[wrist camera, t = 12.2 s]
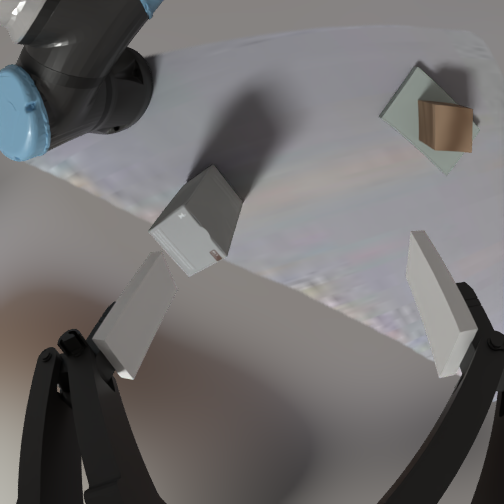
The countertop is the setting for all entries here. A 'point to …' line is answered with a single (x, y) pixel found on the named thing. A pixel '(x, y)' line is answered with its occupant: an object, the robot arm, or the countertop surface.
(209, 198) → the skincare box
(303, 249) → the countertop surface
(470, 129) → the cardboard shipping box
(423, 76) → the pale green flat panel
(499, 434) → the robot arm
